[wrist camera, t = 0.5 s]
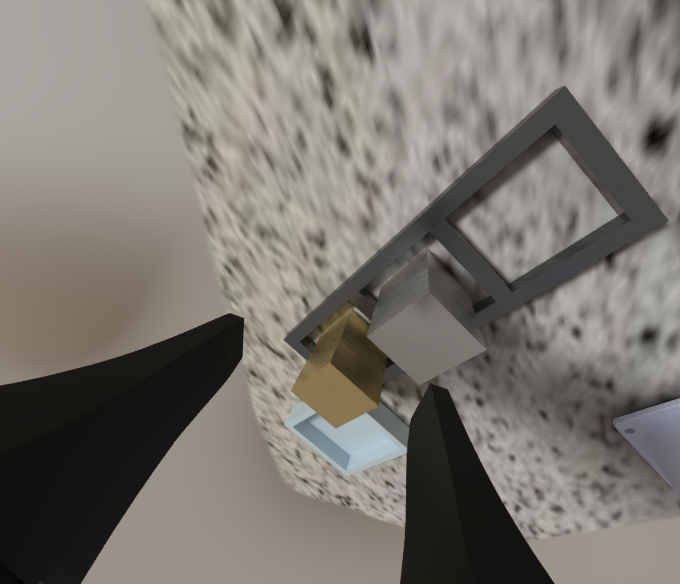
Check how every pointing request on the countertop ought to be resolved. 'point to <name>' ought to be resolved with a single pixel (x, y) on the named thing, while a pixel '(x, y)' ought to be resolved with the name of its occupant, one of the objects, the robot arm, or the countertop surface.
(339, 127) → the countertop surface
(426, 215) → the rail
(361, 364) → the tan wooden post
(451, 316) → the grey block
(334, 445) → the parts tray
